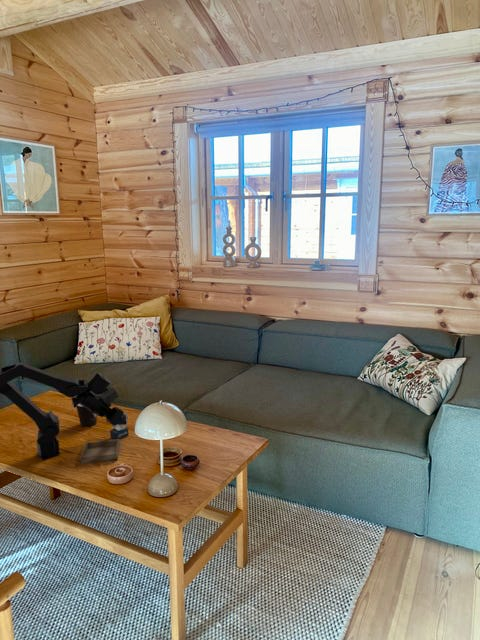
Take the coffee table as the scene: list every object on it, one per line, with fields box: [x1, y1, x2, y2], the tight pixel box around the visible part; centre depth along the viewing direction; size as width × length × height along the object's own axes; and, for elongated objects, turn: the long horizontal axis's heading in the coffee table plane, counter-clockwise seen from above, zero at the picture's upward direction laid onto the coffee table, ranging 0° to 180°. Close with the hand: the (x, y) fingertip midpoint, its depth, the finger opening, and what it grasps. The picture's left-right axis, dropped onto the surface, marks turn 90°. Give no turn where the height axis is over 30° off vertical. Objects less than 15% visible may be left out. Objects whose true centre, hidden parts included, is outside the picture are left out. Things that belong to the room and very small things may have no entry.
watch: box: [109, 412, 130, 440], centre depth 185 cm, size 6×8×11 cm
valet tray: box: [80, 439, 122, 465], centre depth 172 cm, size 13×12×3 cm
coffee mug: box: [75, 404, 98, 428], centre depth 198 cm, size 12×9×10 cm
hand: (120, 420), depth 185 cm, fingers closed on watch, 8 cm apart
